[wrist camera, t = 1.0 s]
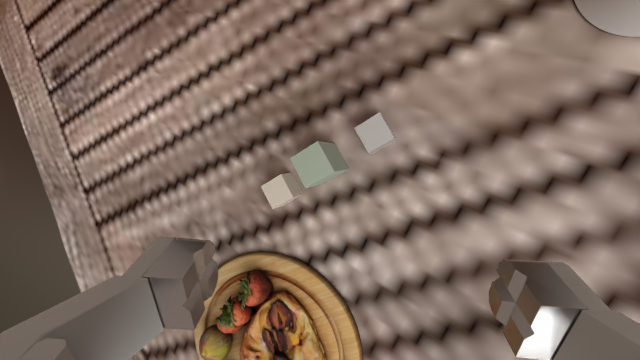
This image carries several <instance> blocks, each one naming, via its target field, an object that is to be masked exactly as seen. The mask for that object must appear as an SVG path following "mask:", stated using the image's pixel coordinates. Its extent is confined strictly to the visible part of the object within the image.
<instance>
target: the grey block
mask: <svg viewBox="0 0 640 360" xmlns="http://www.w3.org/2000/svg"><path fill="white" fill-rule="evenodd" d="M354 129H355V130H356V132H357V134H358V136H359V137H360V139H361V141H362V143H363V144H364V146H365V148H366V150H367V151H368V153H375V152H376V151H378V150H380V149H381V148H383V147H385V146H387V145H388V144H390V143H392V142H393V141H395V140H397V139H396V137H395V135H394V134H393V132H392V130H391V128H390V127H389V125H388V123H387V122H386V120H385V118H384V116H383V115H382V114H381V113H380V112H379V113H378V114H376V115H374V116H373V117H371V118H370V119H368V120H366V121H365V122H363V123H362V124H360V125H358V126H357V127H355V128H354Z"/></svg>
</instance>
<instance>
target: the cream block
mask: <svg viewBox="0 0 640 360" xmlns="http://www.w3.org/2000/svg"><path fill="white" fill-rule="evenodd" d="M261 188H262V190H263V192H264V193H265V195H266V197H267V199H268V201H269V203H270V205H271V207H272V209H275V208H278V207H280V206H283V205H285V204H287V203H289V202H290V201H292V200H294V199H296V198H297V197H299V196H301V195H302V192H301V190H300V188H299V186H298V184H297V182H296V180H295V179H294V177H293V175H292V173H286V174H280V175H279V176H277V177H275V178H274V179H272V180H271V181H269V182H267V183H266V184H264V185H263V186H261Z"/></svg>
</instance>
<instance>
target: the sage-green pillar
mask: <svg viewBox="0 0 640 360" xmlns="http://www.w3.org/2000/svg"><path fill="white" fill-rule="evenodd" d="M290 160H291V162H292V164H293V165H294V167H295V169H296V171H297V173H298V175H299V177H300V178H301V180H302V182H303V184H304V186H305V188H309V187H312V186H316V185H320V184H323V183H326V182H328V181H330V180H331V179H333V178H335V177H336V176H338V175H340V174H342V173H343V172H345V171H347V170H349V167H348V166H347V164H346V162H345V160H344V158H343V157H342V155H341V153H340V151H339V149H338V148H337V146H336V144H334V143H327V142H321V141H317V142H315V143H314V144H312V145H310V146H309V147H307V148H306V149H304V150H302V151H301V152H299V153H298V154H296V155H295V156H293V157H291V158H290Z"/></svg>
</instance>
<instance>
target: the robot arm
mask: <svg viewBox="0 0 640 360" xmlns="http://www.w3.org/2000/svg"><path fill="white" fill-rule="evenodd" d="M574 1H575V3H576V6H577V8H578V9H579V11H580V12H581V14H582V15H583V16H584V17H585V18H586V19H587V20H588V21H589V22H590V23H591V24H593V25H594V26H596V27H598V28H599V29H601V30H604V31H606V32H609V33H612V34H616V35H621V36H630V37H640V0H574ZM214 253H215V249H214V244H213V242H211V241H210V240H199V239H187V238H173V237H159V238H156V239H155V240H154V241H153V242H152V244H151V245H150V246H149V247H148V248H147V249H146V250H145V251H144V252H143V253H142V254H141V256H140V257H139V258H138V259H137V260H136V261H135V262H134V263H133V264H132V265H131V266H130V268H129V269H128V270H127V271H126V272H125V273H124V274H123V275H122V276H115V277H112V278H110V279H108V280H106V281H104V282H102V283H100V284H98V285H96V286H94V287H92V288H90V289H88V290H86V291H84V292H82V293H80V294H78V295H76V296H74V297H72V298H70V299H68V300H66V301H64V302H62V303H60V304H58V305H56V306H54V307H52V308H50V309H48V310H46V311H44V312H42V313H40V314H38V315H36V316H34V317H32V318H30V319H28V320H26V321H24V322H22V323H20V324H18V325H16V326H14V327H12V328H10V329H8V330H6V331H4V332H2V333H1V334H0V360H128V359H130V358H131V357H132V356H133V355H134V354H136V353H137V352H138V351H139V350H140V349H142V348H143V347H144V346H145V345H146V344H148V343H149V342H150V341H151V340H152V339H154V338H155V337H156V336H157V335H159V334H160V333H161V332H162V331H163V330H164V329H163V328H167V329H186V330H195V328H196V326H197V324H198V323H199V321H200V319H201V317H202V315H203V313H204V311H205V305H204V301H206V300H207V299H209V298H210V297H211V296H212V295H213V293H214V291H215V288H216V285H217V281H218V265H217V263H216V262H215V261H214V260H213V259H212V256H213V255H214ZM496 271H497V273H498V274H499V276H500V277H499V278H498V279H496V280H495V281H494V282H492V284H491V287H490V290H489V302H490V306H491V310H492V312H493V314H494V316H495V318H496V319H498V320H499V321H500V322H501V323H503V324H504V325H505V329H504V332H503V333H504V335H505V337H506V339H507V341H508V343H509V345H510V346H511V348H512V350H513V352H514V354H515V356H516V357H522V358H531V359H540V360H640V324H639V323H637V322H635V321H634V320H632V319H630V318H628V317H626V316H625V315H623V314H621V313H618V312H612V311H611V310H610V309H609V308H608V307H607V305H606V304H605V303H604V302H603V301H602V300H601V299H600V298H599V297H598V296H597V295H596V294H595V293H594V292H593V291H592V290H591V289H590V288H589V287H588V285H587V284H586V283H585V282H584V281H583V280H582V279H581V278H580V277H579V276H578V275H577V274H576V273H575V272H574V271H573V270H572V269H571V268H570V266H568V265H566V264H565V263H563V262H543V261H542V262H535V261H518V260H502V261H501V262H500V263H499V265H498V268H497V270H496Z"/></svg>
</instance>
